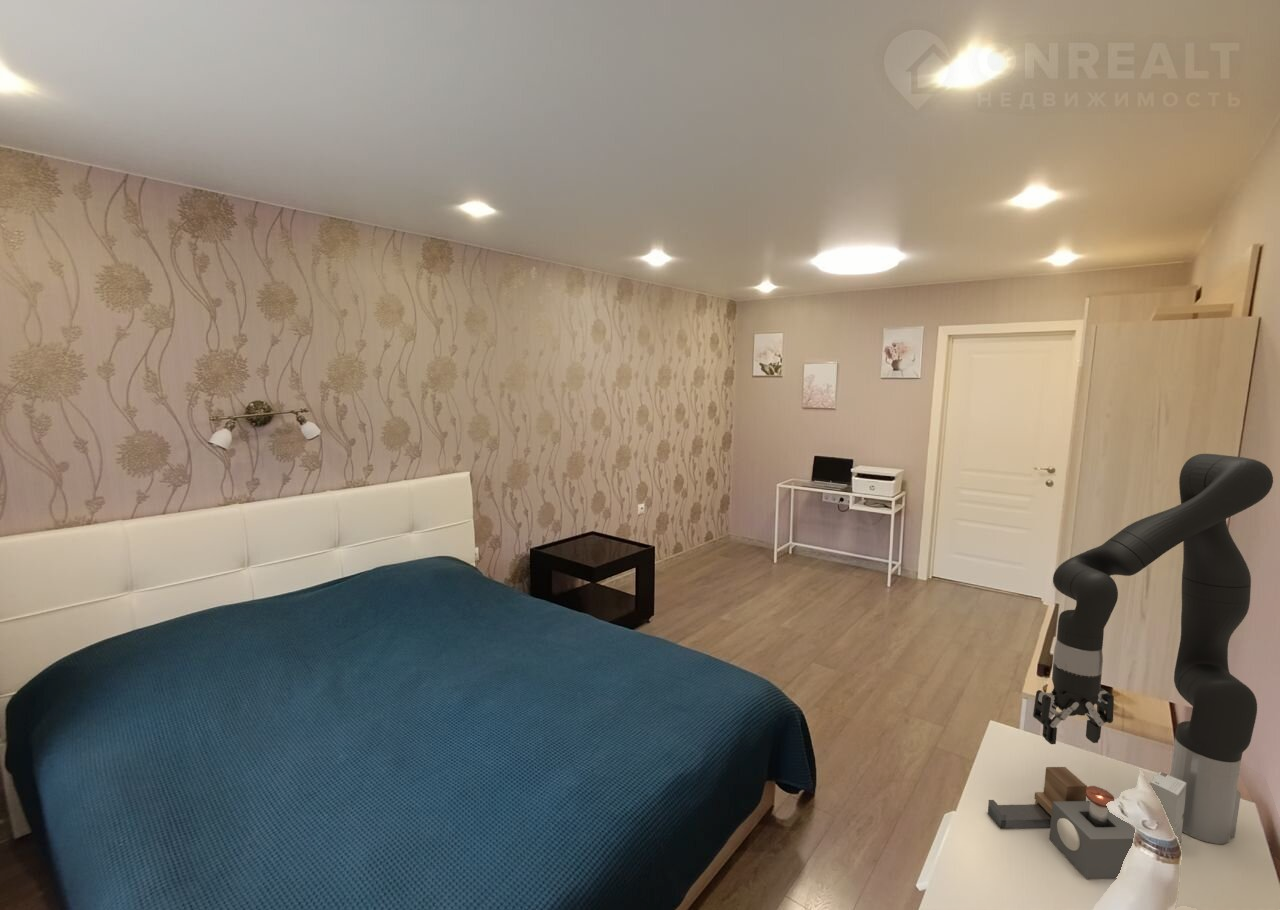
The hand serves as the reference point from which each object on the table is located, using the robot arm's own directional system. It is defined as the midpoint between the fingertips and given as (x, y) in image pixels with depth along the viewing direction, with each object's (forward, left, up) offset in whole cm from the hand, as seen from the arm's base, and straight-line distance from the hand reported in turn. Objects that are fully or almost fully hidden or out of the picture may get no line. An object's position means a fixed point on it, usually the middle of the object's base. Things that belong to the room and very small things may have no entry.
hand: (1070, 741), depth 111 cm
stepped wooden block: (0, 0, -17) cm, 17 cm away
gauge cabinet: (+1, +9, -18) cm, 20 cm away
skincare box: (-16, +5, -18) cm, 24 cm away
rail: (+4, 0, -18) cm, 18 cm away
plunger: (+1, +9, -12) cm, 15 cm away
